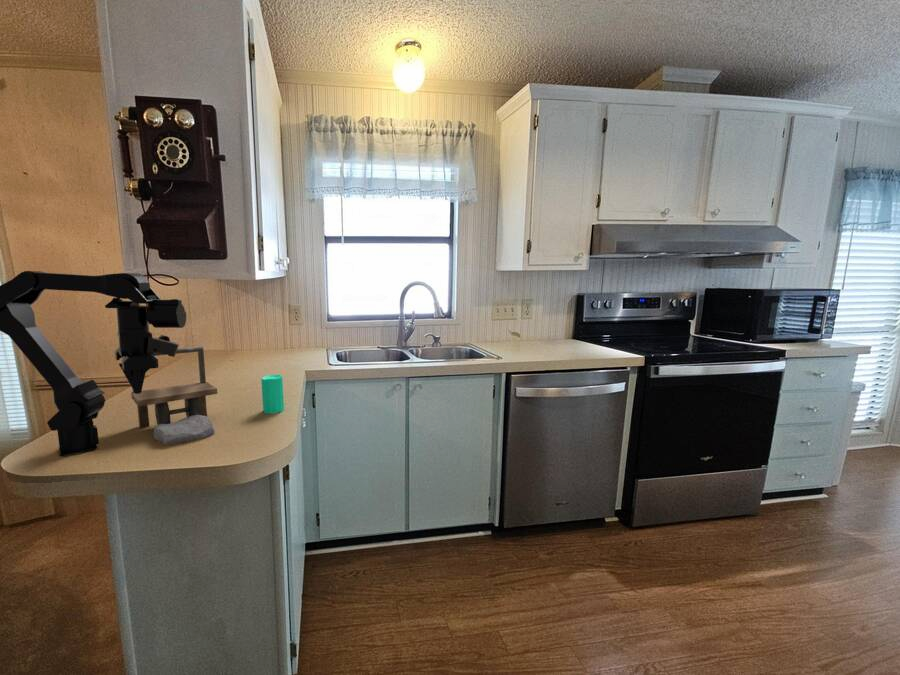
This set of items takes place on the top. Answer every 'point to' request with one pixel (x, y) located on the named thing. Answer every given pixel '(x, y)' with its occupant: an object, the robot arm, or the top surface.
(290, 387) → the top surface
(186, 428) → the stone block
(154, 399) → the wooden chair
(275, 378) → the candle
